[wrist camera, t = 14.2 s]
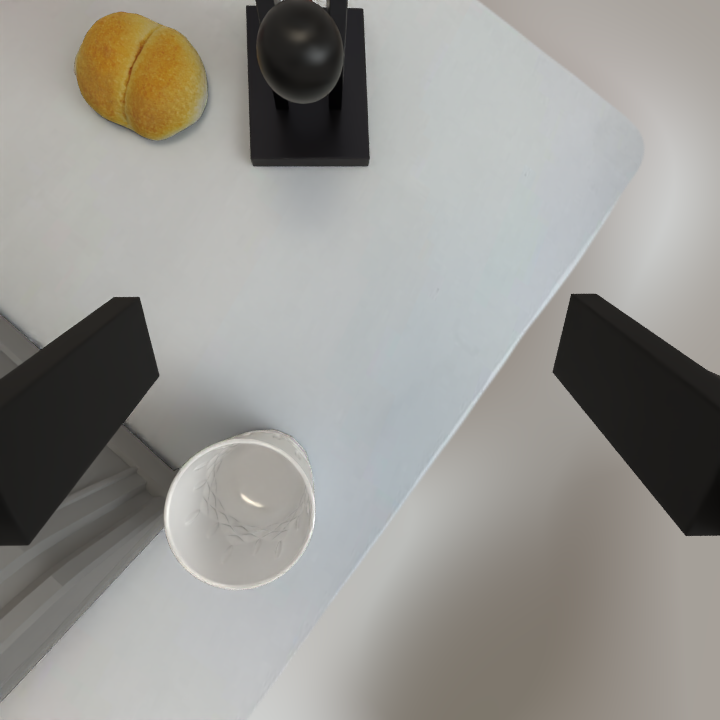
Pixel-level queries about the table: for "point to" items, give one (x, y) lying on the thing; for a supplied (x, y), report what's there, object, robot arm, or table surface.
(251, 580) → the white cup
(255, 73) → the bracket
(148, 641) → the table surface
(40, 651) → the toaster
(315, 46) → the lever
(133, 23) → the bread roll
